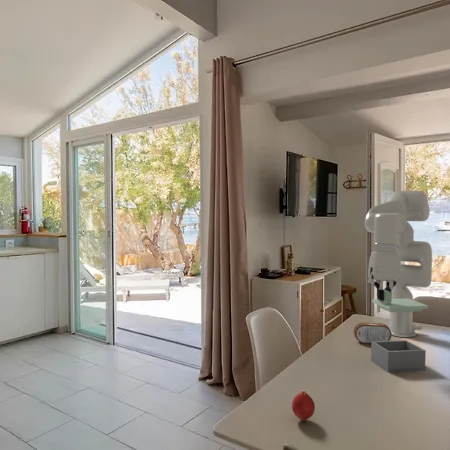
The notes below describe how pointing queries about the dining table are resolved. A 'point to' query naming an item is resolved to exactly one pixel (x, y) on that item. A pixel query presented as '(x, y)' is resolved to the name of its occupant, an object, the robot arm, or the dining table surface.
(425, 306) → the lid
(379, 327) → the tin
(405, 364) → the tub
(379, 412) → the dining table surface
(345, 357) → the dining table surface
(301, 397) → the onion
